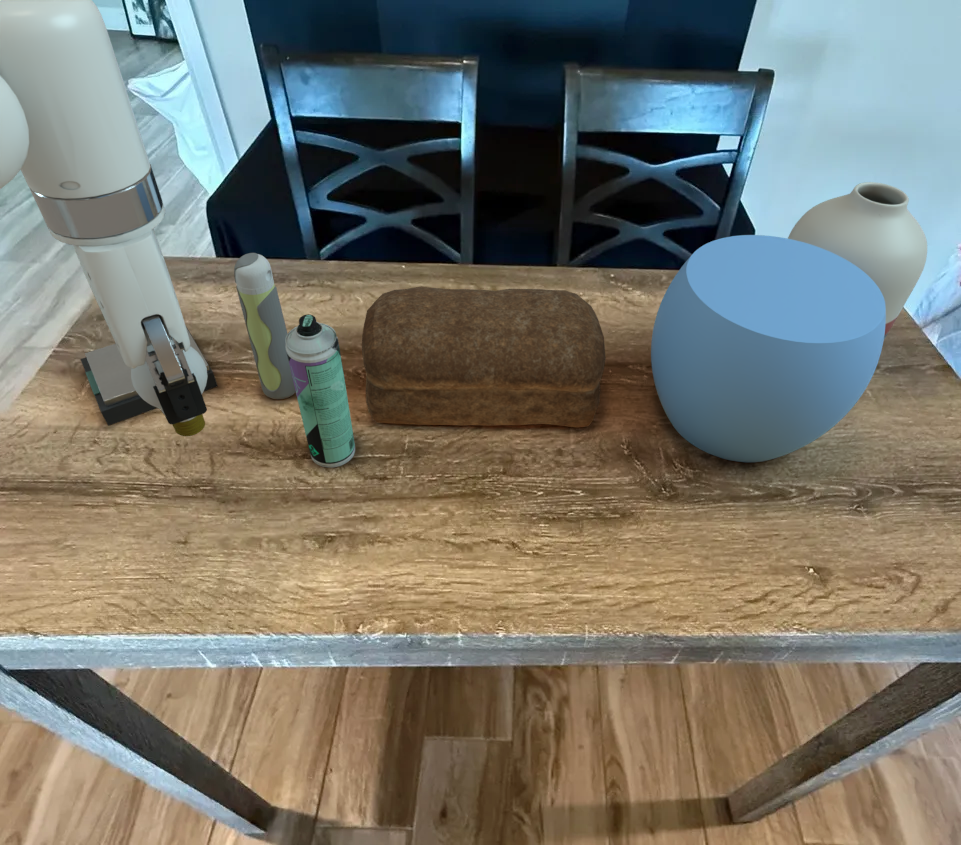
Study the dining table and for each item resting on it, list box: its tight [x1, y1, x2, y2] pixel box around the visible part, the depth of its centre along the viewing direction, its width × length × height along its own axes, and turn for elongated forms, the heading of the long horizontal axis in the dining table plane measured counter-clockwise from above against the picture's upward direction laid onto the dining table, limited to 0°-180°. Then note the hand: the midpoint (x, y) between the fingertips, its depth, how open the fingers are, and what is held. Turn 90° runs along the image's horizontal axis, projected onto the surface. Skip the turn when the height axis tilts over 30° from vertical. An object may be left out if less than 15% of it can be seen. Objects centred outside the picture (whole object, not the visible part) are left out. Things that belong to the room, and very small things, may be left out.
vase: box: [787, 181, 928, 340], centre depth 92 cm, size 17×17×24 cm
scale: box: [80, 326, 219, 427], centre depth 90 cm, size 14×12×4 cm
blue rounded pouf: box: [650, 234, 886, 463], centre depth 82 cm, size 25×25×20 cm
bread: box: [361, 286, 606, 428], centre depth 87 cm, size 17×30×13 cm, turn 90°
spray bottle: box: [233, 252, 296, 400], centre depth 84 cm, size 5×5×20 cm
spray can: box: [285, 314, 356, 469], centre depth 76 cm, size 6×6×20 cm
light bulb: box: [131, 340, 207, 437], centre depth 59 cm, size 6×6×10 cm
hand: (176, 392), depth 59 cm, fingers closed on light bulb, 5 cm apart
